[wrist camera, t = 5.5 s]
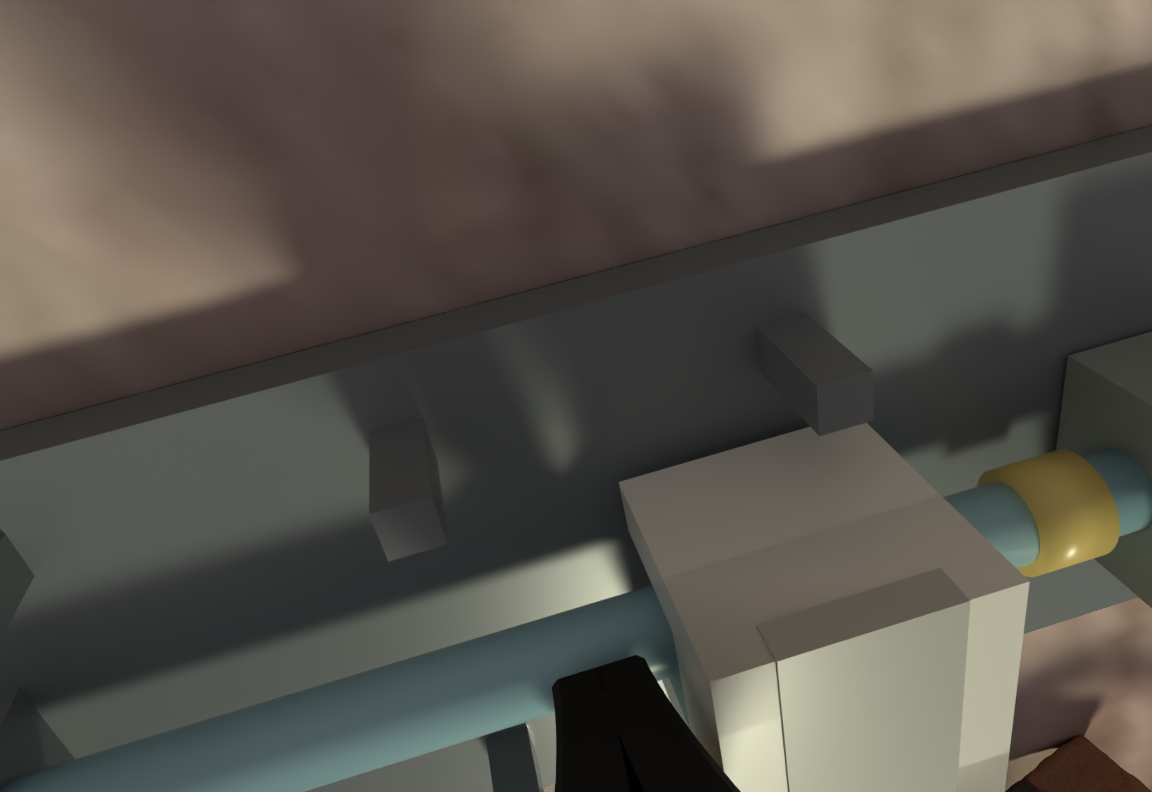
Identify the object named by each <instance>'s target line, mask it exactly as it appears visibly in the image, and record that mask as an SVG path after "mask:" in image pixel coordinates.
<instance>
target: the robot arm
mask: <svg viewBox="0 0 1152 792" xmlns="http://www.w3.org/2000/svg"><path fill="white" fill-rule="evenodd" d="M552 693H553V700H554V708H555V722H556V780H555V792H741V791H740V790H739V789H738V788H737V787H736V786H735V784H734V783H733V782H732V781H731V780H730V778H729V777H728V776H727V775H726V774H725V772H724V771H723V770H722V769H721V767H720V766H719V765H718V764H717V763H716V761H715V760H714V759H713V758H712V757H711V755H710V754H709V753H708V752H707V751H706V749H705V748H704V747H703V746H702V744H701V743H700V742H699V740H698V739H697V738H696V736H695V735H694V734H693V733H692V731H691V730H690V729H689V727H688V726H687V724H686V723H685V722H684V720H683V719H682V717H681V716H680V715H679V713H678V712H677V711H676V709H675V708H674V706H673V705H672V703H671V702H670V700H669V699H668V697H667V696H666V694H665V693H664V691H663V690H662V688H661V687H660V685H659V683H658V682H657V680H656V678H655V677H654V675H653V673H652V671H651V670H650V668H649V666H648V664H647V662H646V660H645V658H643V657H640V656H638V655H634V656H631V657H627V658H624V659H621V660H618V661H615V662H611V663H608V664H605V665H602V666H598V667H595V668H592V669H589V670H586V671H582V672H579V673H576V674H573V675H569V676H566V677H563V678H560V679H557V681H556V682H555V683H554V685H553V686H552Z"/></svg>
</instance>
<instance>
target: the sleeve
mask: <svg viewBox="0 0 1152 792" xmlns="http://www.w3.org/2000/svg"><path fill="white" fill-rule="evenodd" d="M619 487H620V492H621V496H622V501H623V506H624V511H625V516H626V521H627V526H628V531H629V533H630V535H631V538H632V540H633V542H634V544H635V547H636V549H637V551H638V554H639V556H640V558H641V561H642V563H643V565H644V567H645V570H646V572H647V574H648V577H649V579H650V581H651V584H652V586H653V588H654V590H655V593H656V595H657V597H658V600H659V602H660V604H661V607H662V609H663V611H664V613H665V616H666V618H667V620H668V623H669V625H670V627H671V629H672V632H673V638H674V643H675V648H676V654H677V659H678V665H679V670H680V674H679V675H676V676H672V677H669V678H666V679H663V680H662V682H663V684H664V687H665V689H666V692H667V694H668V697H669V699H670V702H671V703H672V705H673V706H674V708H675V709H676V711H677V712H678V713H679V715H680V716H681V717H682V719H683V720H684V722H685V723H686V724H687V726H688V727H689V729H690V730H691V731H692V733H693V734H694V735H695V736H696V738H697V739H698V740H699V742H700V743H701V744H702V746H703V747H704V748H705V749H706V751H707V752H708V753H709V754H710V755H711V757H712V758H713V759H714V760H715V761H716V763H717V764H718V765H719V766H720V767H721V769H722V770H723V771H724V772H725V774H726V775H727V776H728V777H729V778H730V780H731V781H732V782H733V783H734V784H735V786H736V787H737V788H738V789H739V790H740V791H741V792H1005V785H1006V776H1007V768H1008V759H1009V751H1010V743H1011V734H1012V726H1013V717H1014V709H1015V701H1016V692H1017V684H1018V675H1019V667H1020V659H1021V650H1022V642H1023V633H1024V625H1025V617H1026V608H1027V600H1028V591H1029V583H1030V581H1029V580H1028V579H1027V578H1026V577H1025V576H1024V575H1023V574H1022V573H1020V572H1019V571H1018V570H1017V569H1016V568H1015V567H1014V566H1013V565H1012V564H1011V563H1010V562H1009V561H1008V560H1007V559H1006V558H1005V557H1004V556H1003V555H1002V554H1001V553H1000V552H999V551H998V550H997V549H996V548H995V547H994V546H993V545H992V544H991V543H990V542H989V541H988V540H987V539H986V538H985V537H983V536H982V535H981V534H980V533H979V532H978V531H977V530H976V529H975V528H974V527H973V526H972V525H971V524H970V523H969V522H968V521H967V520H966V519H965V518H964V517H963V516H962V515H961V514H960V513H959V512H958V511H957V510H956V509H955V508H954V507H953V506H952V505H951V504H950V503H949V502H947V501H946V500H945V499H944V498H943V497H942V496H941V495H940V494H939V493H938V492H937V491H936V490H935V489H934V488H933V487H932V486H931V485H930V484H929V483H928V482H927V481H926V480H925V479H924V478H923V477H922V476H921V475H920V474H919V473H918V472H917V471H916V470H915V469H914V468H913V467H912V466H910V465H909V464H908V463H907V462H906V461H905V460H904V459H903V458H902V457H901V456H900V455H899V454H898V453H897V452H896V451H895V450H894V449H893V448H892V447H891V446H890V445H889V444H888V443H887V442H886V441H885V440H884V439H883V438H882V437H881V436H880V435H879V434H878V433H877V432H876V431H874V430H873V429H872V428H871V427H870V426H869V425H868V424H867V423H864V424H860V425H857V426H853V427H850V428H846V429H843V430H840V431H836V432H833V433H829V434H826V435H822V436H818V435H817V434H816V432H815V431H814V430H813V429H812V428H811V427H807V428H804V429H800V430H797V431H793V432H790V433H786V434H783V435H779V436H776V437H772V438H769V439H766V440H762V441H759V442H755V443H752V444H748V445H745V446H741V447H738V448H734V449H731V450H728V451H724V452H721V453H717V454H714V455H710V456H707V457H703V458H700V459H696V460H693V461H690V462H686V463H683V464H679V465H676V466H672V467H669V468H665V469H662V470H658V471H655V472H651V473H648V474H645V475H641V476H638V477H634V478H631V479H627V480H624V481H620V482H619Z"/></svg>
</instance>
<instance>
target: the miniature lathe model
mask: <svg viewBox="0 0 1152 792" xmlns="http://www.w3.org/2000/svg"><path fill="white" fill-rule="evenodd" d="M864 423H867V424H868V425H869V426H870V427H871V428H872V429H873V430H874V431H876V432H877V433H878V434H879V435H880V436H881V437H882V438H883V439H884V440H885V441H886V442H887V443H888V444H889V445H890V446H891V447H892V448H893V449H894V450H895V451H896V452H897V453H898V454H899V455H900V456H901V457H902V458H903V459H904V460H905V461H906V462H907V463H908V464H909V465H910V466H912V467H913V468H914V469H915V470H916V471H917V472H918V473H919V474H920V475H921V476H922V477H923V478H924V479H925V480H926V481H927V482H928V483H929V484H930V485H931V486H932V487H933V488H934V489H935V490H936V491H937V492H938V493H939V494H940V495H941V496H942V497H943V498H944V499H945V500H946V501H947V502H949V503H950V504H951V505H952V506H953V507H954V508H955V509H956V510H957V511H958V512H959V513H960V514H961V515H962V516H963V517H964V518H965V519H966V520H967V521H968V522H969V523H970V524H971V525H972V526H973V527H974V528H975V529H976V530H977V531H978V532H979V533H980V534H981V535H982V536H983V537H985V538H986V539H987V540H988V541H989V542H990V543H991V544H992V545H993V546H994V547H995V548H996V549H997V550H998V551H999V552H1000V553H1001V554H1002V555H1003V556H1004V557H1005V558H1006V559H1007V560H1008V561H1009V562H1010V563H1011V564H1012V565H1013V566H1014V567H1015V568H1016V569H1017V570H1018V571H1019V572H1020V573H1022V574H1023V575H1024V576H1025V577H1026V578H1027V579H1028V580H1029V581H1030V583H1029V591H1028V600H1027V608H1026V617H1025V625H1024V633H1023V634H1025V633H1028V632H1031V631H1034V630H1037V629H1040V628H1044V627H1047V626H1050V625H1053V624H1056V623H1059V622H1062V621H1065V620H1068V619H1072V618H1075V617H1078V616H1081V615H1084V614H1087V613H1090V612H1093V611H1097V610H1100V609H1103V608H1106V607H1109V606H1112V605H1115V604H1118V603H1121V602H1125V601H1128V600H1131V599H1134V598H1137V597H1139V598H1140V599H1142V600H1143V601H1144V602H1145V603H1146V604H1147V605H1149V606H1150V607H1151V608H1152V126H1148V127H1145V128H1141V129H1137V130H1133V131H1130V132H1126V133H1122V134H1118V135H1115V136H1111V137H1107V138H1103V139H1099V140H1096V141H1092V142H1088V143H1084V144H1081V145H1077V146H1073V147H1069V148H1065V149H1062V150H1058V151H1054V152H1050V153H1047V154H1043V155H1039V156H1035V157H1032V158H1028V159H1024V160H1020V161H1016V162H1013V163H1009V164H1005V165H1001V166H998V167H994V168H990V169H986V170H983V171H979V172H975V173H971V174H967V175H964V176H960V177H956V178H952V179H949V180H945V181H941V182H937V183H933V184H930V185H926V186H922V187H918V188H915V189H911V190H907V191H903V192H900V193H896V194H892V195H888V196H884V197H881V198H877V199H873V200H869V201H866V202H862V203H858V204H854V205H851V206H847V207H843V208H839V209H835V210H832V211H828V212H824V213H820V214H817V215H813V216H809V217H805V218H802V219H798V220H794V221H790V222H786V223H783V224H779V225H775V226H771V227H768V228H764V229H760V230H756V231H752V232H749V233H745V234H741V235H737V236H734V237H730V238H726V239H722V240H719V241H715V242H711V243H707V244H703V245H700V246H696V247H692V248H688V249H685V250H681V251H677V252H673V253H670V254H666V255H662V256H658V257H654V258H651V259H647V260H643V261H639V262H636V263H632V264H628V265H624V266H620V267H617V268H613V269H609V270H605V271H602V272H598V273H594V274H590V275H587V276H583V277H579V278H575V279H571V280H568V281H564V282H560V283H556V284H553V285H549V286H545V287H541V288H538V289H534V290H530V291H526V292H522V293H519V294H515V295H511V296H507V297H504V298H500V299H496V300H492V301H488V302H485V303H481V304H477V305H473V306H470V307H466V308H462V309H458V310H455V311H451V312H447V313H443V314H439V315H436V316H432V317H428V318H424V319H421V320H417V321H413V322H409V323H406V324H402V325H398V326H394V327H390V328H387V329H383V330H379V331H375V332H372V333H368V334H364V335H360V336H357V337H353V338H349V339H345V340H341V341H338V342H334V343H330V344H326V345H323V346H319V347H315V348H311V349H307V350H304V351H300V352H296V353H292V354H289V355H285V356H281V357H277V358H274V359H270V360H266V361H262V362H258V363H255V364H251V365H247V366H243V367H240V368H236V369H232V370H228V371H225V372H221V373H217V374H213V375H209V376H206V377H202V378H198V379H194V380H191V381H187V382H183V383H179V384H175V385H172V386H168V387H164V388H160V389H157V390H153V391H149V392H145V393H142V394H138V395H134V396H130V397H126V398H123V399H119V400H115V401H111V402H108V403H104V404H100V405H96V406H93V407H89V408H85V409H81V410H77V411H74V412H70V413H66V414H62V415H59V416H55V417H51V418H47V419H43V420H40V421H36V422H32V423H28V424H25V425H21V426H17V427H13V428H10V429H6V430H2V431H0V792H544V790H543V788H545V787H548V786H551V785H554V784H555V780H556V722H555V708H554V700H553V693H552V686H553V685H554V683H555V682H556V681H557V679H560V678H563V677H566V676H569V675H573V674H576V673H579V672H582V671H586V670H589V669H592V668H595V667H598V666H602V665H605V664H608V663H611V662H615V661H618V660H621V659H624V658H627V657H631V656H634V655H638V656H640V657H643V658H645V660H646V662H647V664H648V666H649V668H650V670H651V671H652V673H653V675H654V677H655V678H656V680H657V682H658V683H659V685H660V687H661V688H662V690H663V691H664V693H665V694H666V696H667V697H668V694H667V692H666V689H665V687H664V684H663V682H662V680H663V679H666V678H669V677H672V676H676V675H679V674H680V670H679V665H678V659H677V654H676V648H675V643H674V638H673V632H672V629H671V627H670V625H669V623H668V620H667V618H666V616H665V613H664V611H663V609H662V607H661V604H660V602H659V600H658V597H657V595H656V593H655V590H654V588H653V586H652V584H651V581H650V579H649V577H648V574H647V572H646V570H645V567H644V565H643V563H642V561H641V558H640V556H639V554H638V551H637V549H636V547H635V544H634V542H633V540H632V538H631V535H630V533H629V531H628V526H627V521H626V516H625V511H624V506H623V501H622V496H621V492H620V487H619V482H620V481H624V480H627V479H631V478H634V477H638V476H641V475H645V474H648V473H651V472H655V471H658V470H662V469H665V468H669V467H672V466H676V465H679V464H683V463H686V462H690V461H693V460H696V459H700V458H703V457H707V456H710V455H714V454H717V453H721V452H724V451H728V450H731V449H734V448H738V447H741V446H745V445H748V444H752V443H755V442H759V441H762V440H766V439H769V438H772V437H776V436H779V435H783V434H786V433H790V432H793V431H797V430H800V429H804V428H807V427H811V428H812V429H813V430H814V431H815V432H816V434H817V435H818V436H822V435H826V434H829V433H833V432H836V431H840V430H843V429H846V428H850V427H853V426H857V425H860V424H864ZM668 699H669V697H668ZM669 700H670V699H669Z"/></svg>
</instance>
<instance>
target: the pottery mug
mask: <svg viewBox="0 0 1152 792" xmlns="http://www.w3.org/2000/svg"><path fill="white" fill-rule="evenodd" d="M1006 792H1151V791H1150V790H1149V789H1148V788H1147V787H1146V786H1145V785H1144V784H1143V783H1142V782H1141V781H1140V780H1138V779H1137V778H1136V777H1135V776H1133V775H1131V774H1129V773H1128V772H1126V771H1125V770H1123V769H1122V768H1121V767H1120V766H1118V765H1117V764H1116V763H1115V762H1114V761H1113V760H1112V759H1111V758H1109V757H1108V756H1107V755H1106V754H1105V753H1103V752H1102V751H1101V750H1099V749H1098V748H1097V747H1096V746H1094V745H1093V744H1092V743H1091V742H1090V741H1089V740H1088V739H1086V738H1085V737H1084V736H1075V737H1074V738H1073V739H1072V740H1070V741H1069V742H1068V743H1066V744H1064V745H1062V746H1060V747H1059V748H1058V749H1057V750H1056V751H1055V752H1054V753H1053V754H1052V755H1050V756H1049V757H1046V758H1045V759H1043V761H1041V762H1040V763H1039V765H1038V766H1037V767H1036V768H1035V769H1034V770H1033V771H1031V772H1030V773H1029V774H1028V775H1026V776H1025V777H1024V778H1023V779H1022V780H1020V781H1018V782H1016V783H1015V784H1014V785H1012V786H1011V787H1010V788H1009V789H1008V790H1007V791H1006Z"/></svg>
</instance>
